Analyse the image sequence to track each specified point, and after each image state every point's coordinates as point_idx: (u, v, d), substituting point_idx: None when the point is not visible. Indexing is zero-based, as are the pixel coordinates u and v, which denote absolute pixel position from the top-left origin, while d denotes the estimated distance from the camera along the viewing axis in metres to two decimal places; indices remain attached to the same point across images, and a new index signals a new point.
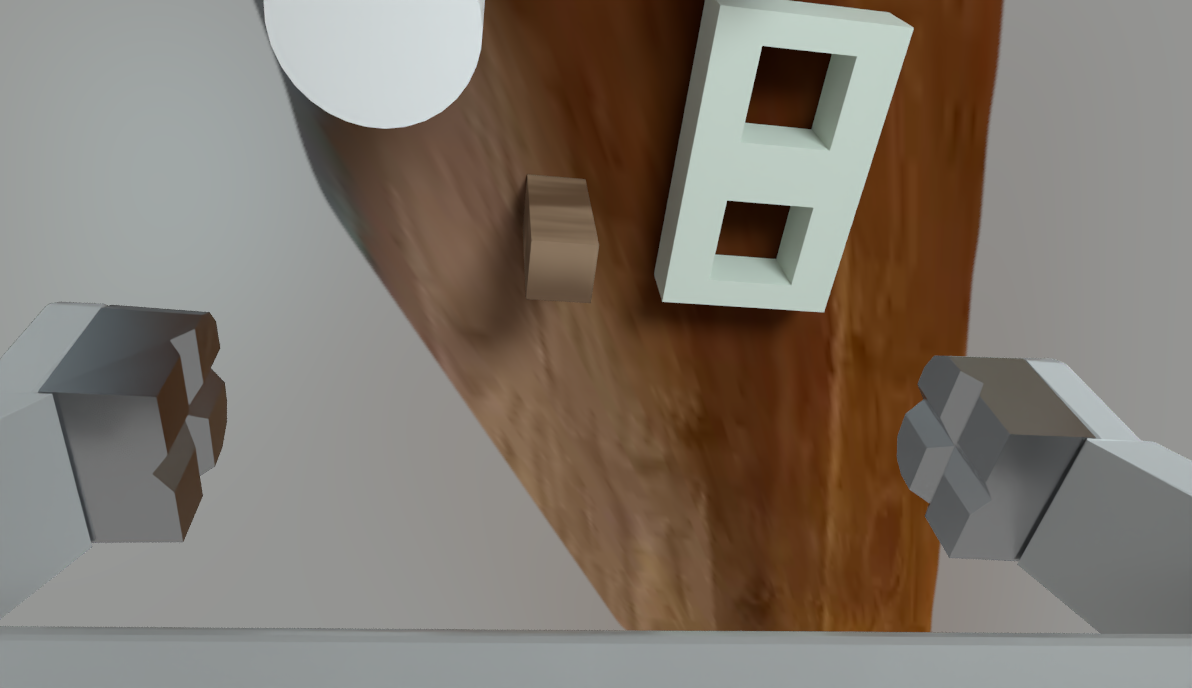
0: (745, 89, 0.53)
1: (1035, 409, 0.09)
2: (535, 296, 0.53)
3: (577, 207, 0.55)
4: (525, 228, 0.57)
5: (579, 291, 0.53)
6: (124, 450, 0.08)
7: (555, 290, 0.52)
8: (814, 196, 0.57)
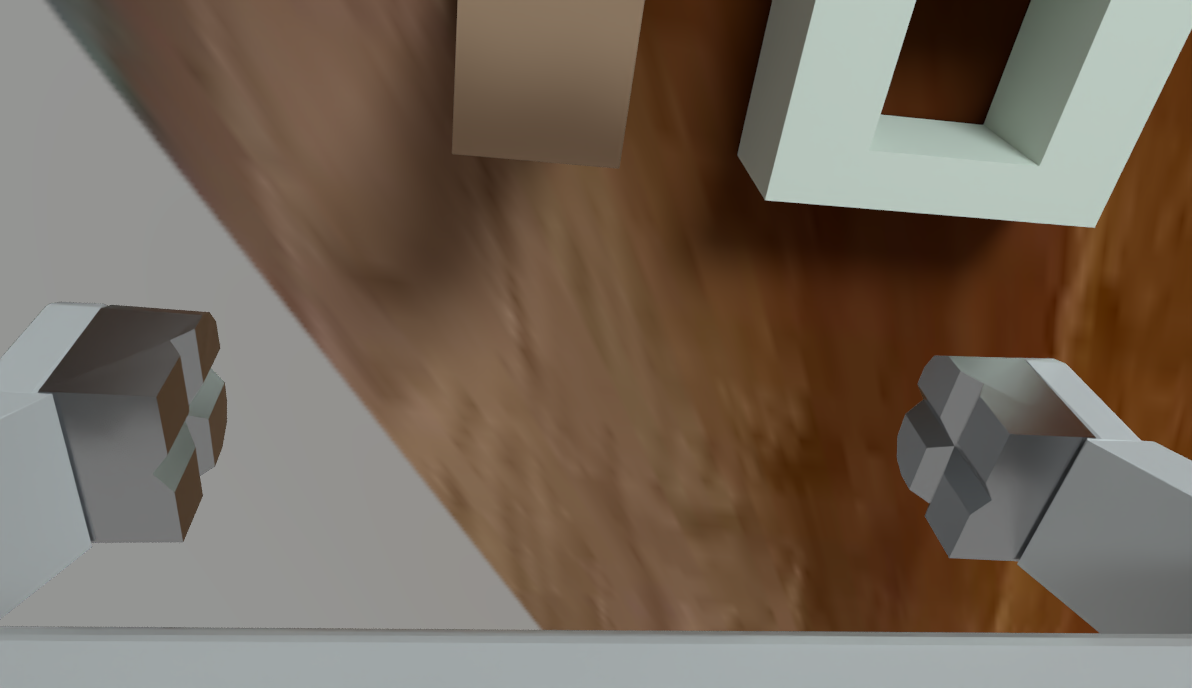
0: None
1: (1035, 409, 0.09)
2: (476, 146, 0.20)
3: None
4: None
5: (590, 134, 0.20)
6: (124, 450, 0.08)
7: (528, 130, 0.20)
8: None
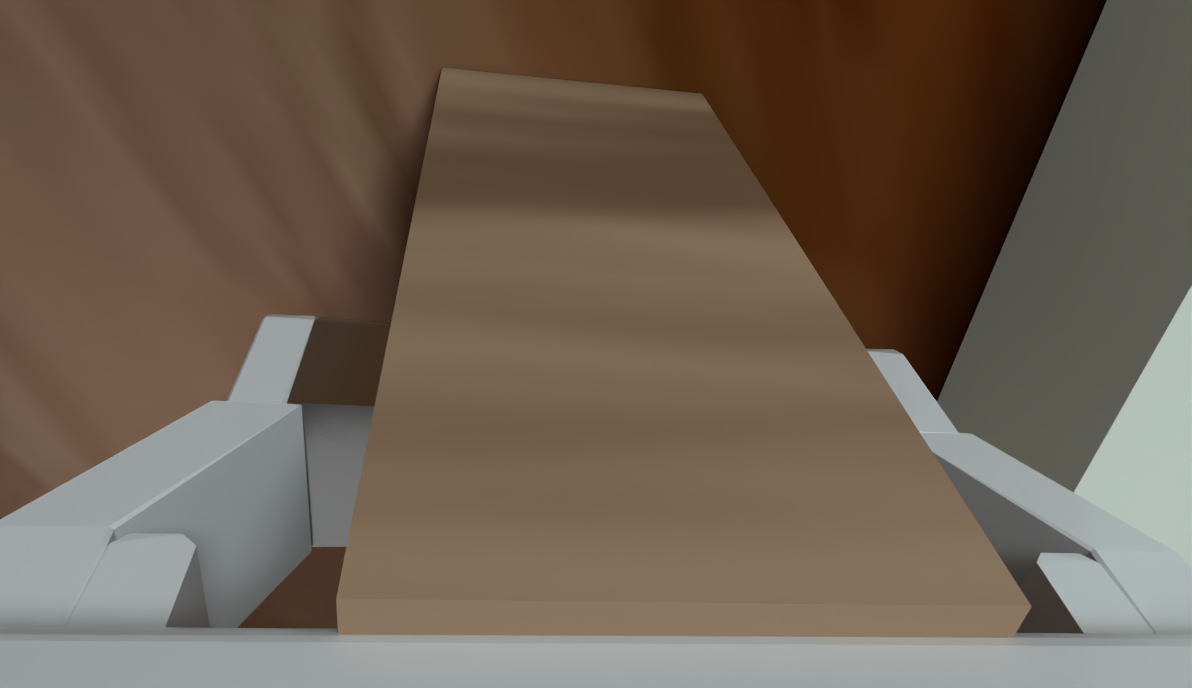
0: None
1: None
2: None
3: (707, 222, 0.09)
4: None
5: None
6: (357, 458, 0.08)
7: None
8: None
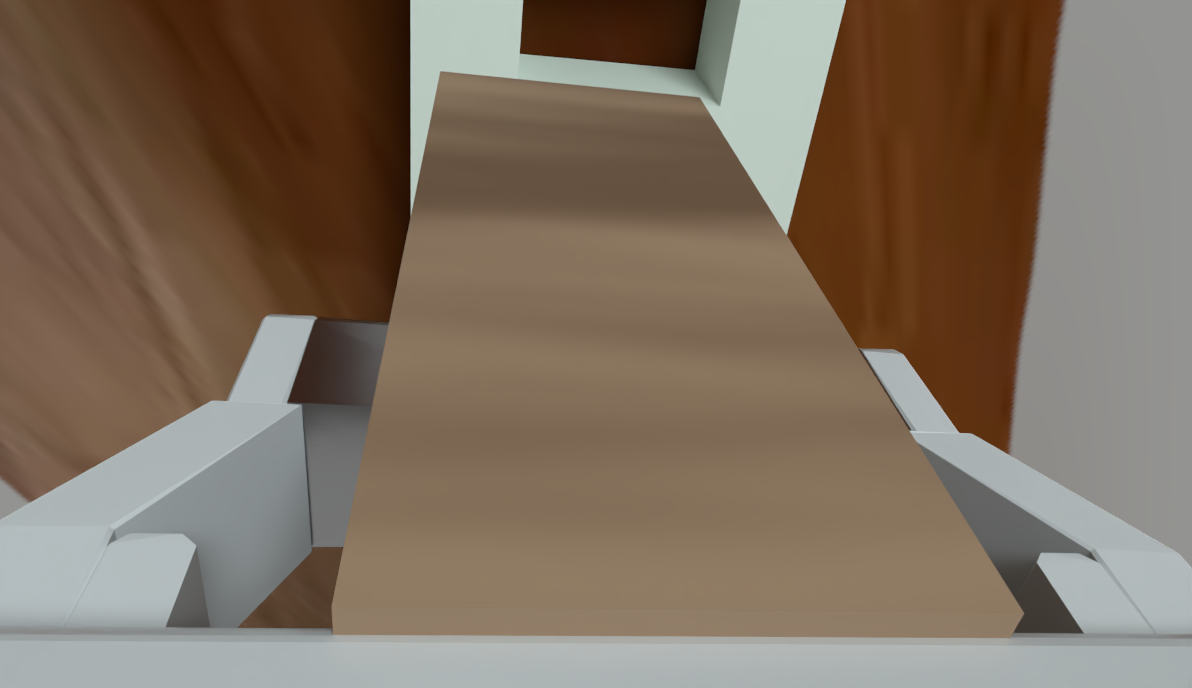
0: None
1: None
2: None
3: (704, 227, 0.09)
4: None
5: None
6: (357, 458, 0.08)
7: None
8: None
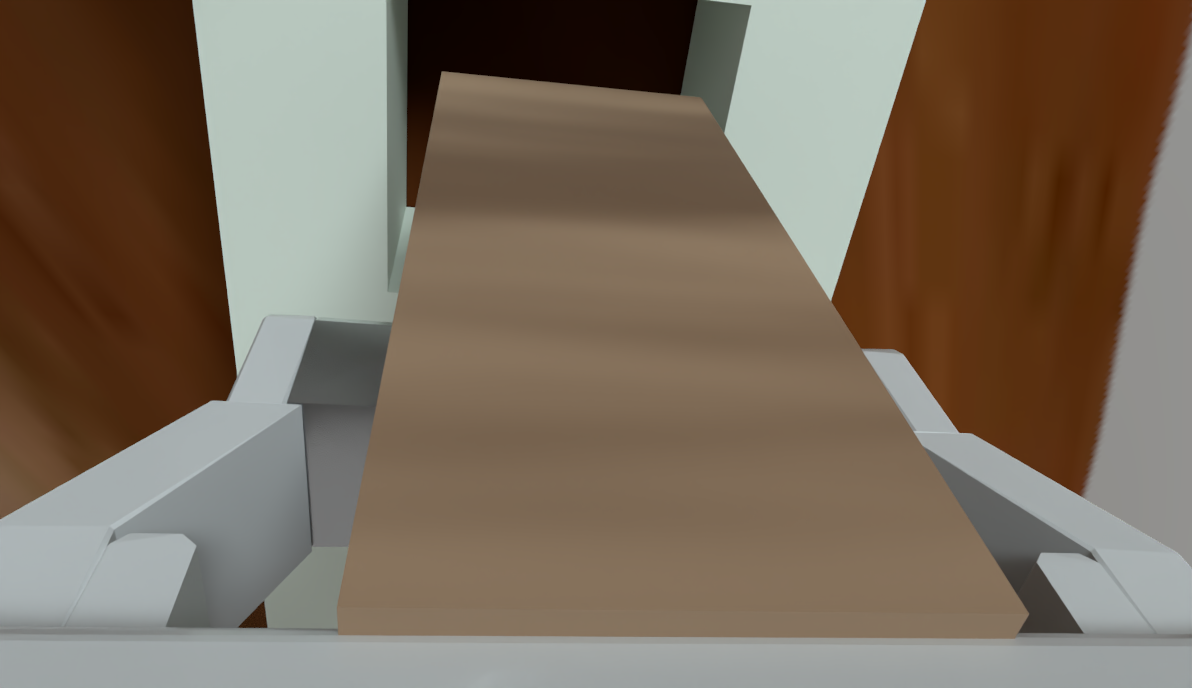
0: (362, 124, 0.15)
1: None
2: None
3: (706, 228, 0.09)
4: None
5: None
6: (357, 458, 0.08)
7: None
8: None
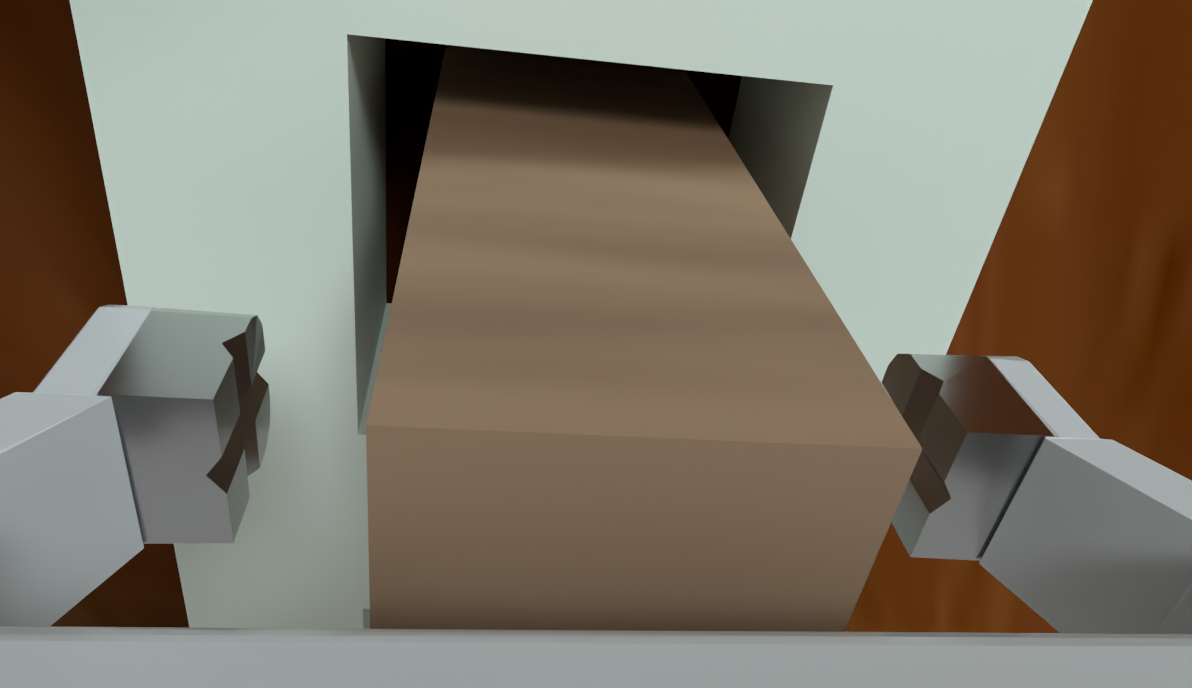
0: (320, 237, 0.11)
1: (995, 407, 0.09)
2: None
3: (681, 172, 0.10)
4: None
5: None
6: (179, 452, 0.08)
7: None
8: None
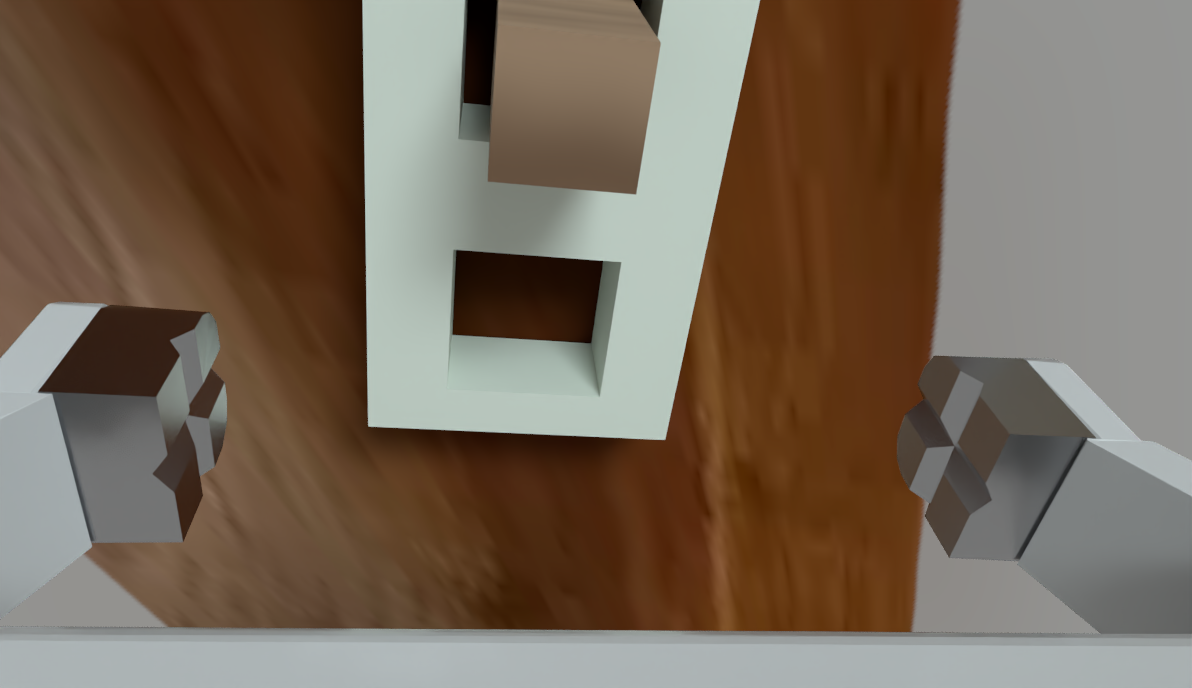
0: (449, 32, 0.26)
1: (1035, 408, 0.09)
2: (509, 174, 0.23)
3: None
4: None
5: (611, 164, 0.23)
6: (124, 450, 0.08)
7: (555, 161, 0.23)
8: (620, 241, 0.31)
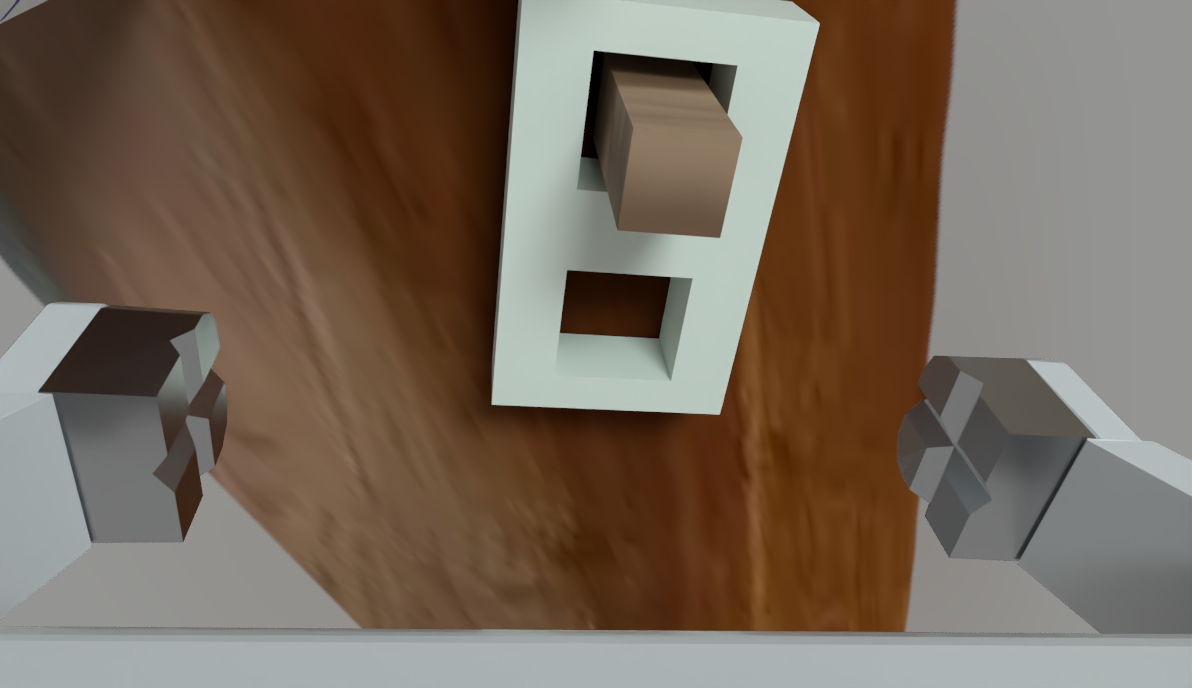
0: (575, 114, 0.36)
1: (1035, 408, 0.09)
2: (633, 225, 0.32)
3: (691, 91, 0.35)
4: (604, 130, 0.37)
5: (704, 218, 0.32)
6: (124, 450, 0.08)
7: (665, 216, 0.32)
8: (692, 263, 0.40)
